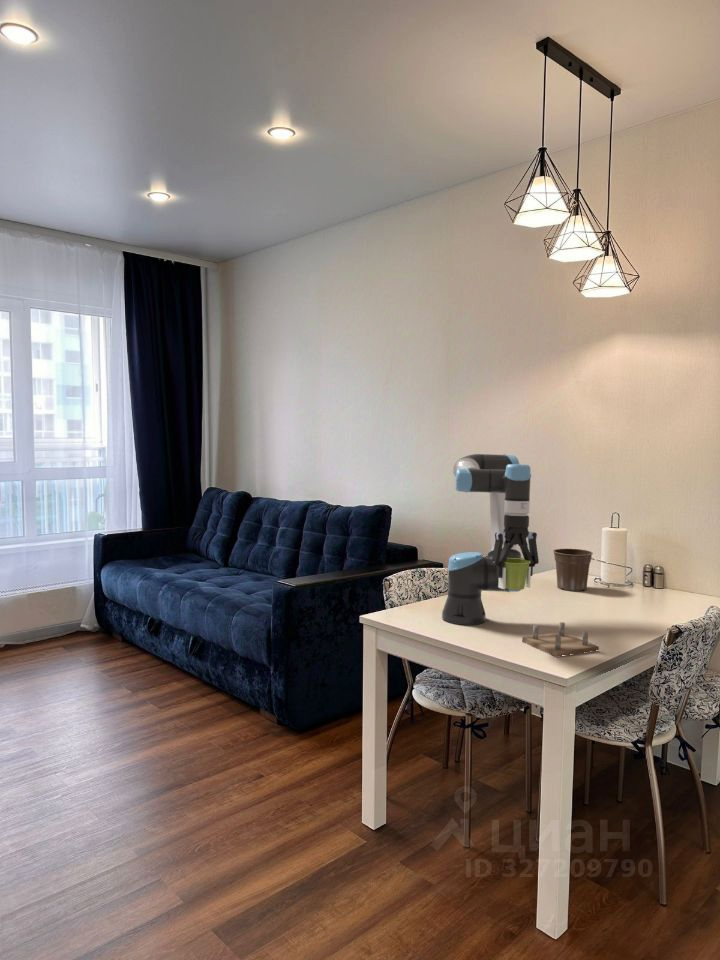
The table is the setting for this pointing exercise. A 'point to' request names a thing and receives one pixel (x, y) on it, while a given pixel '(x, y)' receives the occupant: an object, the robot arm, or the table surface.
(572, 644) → the stand
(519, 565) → the plant pot
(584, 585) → the plant pot
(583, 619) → the table surface
